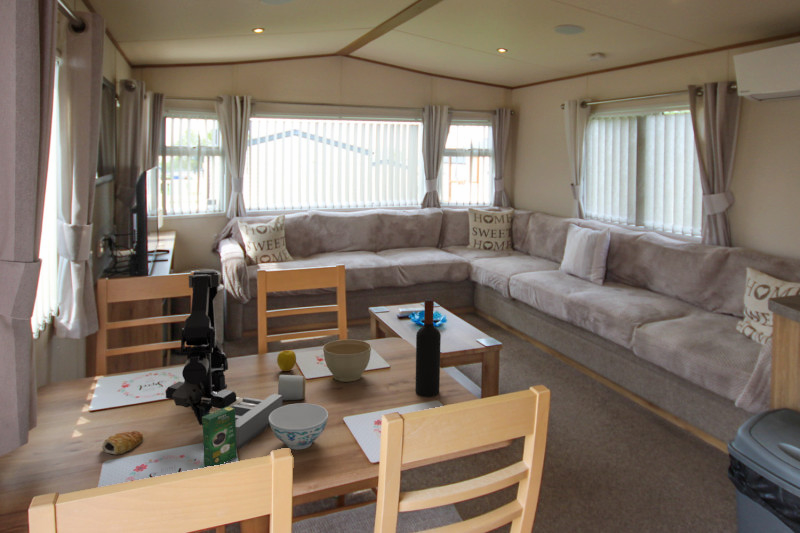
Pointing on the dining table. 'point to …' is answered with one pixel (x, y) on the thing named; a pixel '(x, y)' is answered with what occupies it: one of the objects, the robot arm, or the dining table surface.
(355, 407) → the dining table surface
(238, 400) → the knob
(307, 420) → the chinaware
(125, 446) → the pastry
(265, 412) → the mount
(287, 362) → the apple
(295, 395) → the ceramic mug
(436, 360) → the wine bottle
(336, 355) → the planter bowl
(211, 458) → the coffee box
